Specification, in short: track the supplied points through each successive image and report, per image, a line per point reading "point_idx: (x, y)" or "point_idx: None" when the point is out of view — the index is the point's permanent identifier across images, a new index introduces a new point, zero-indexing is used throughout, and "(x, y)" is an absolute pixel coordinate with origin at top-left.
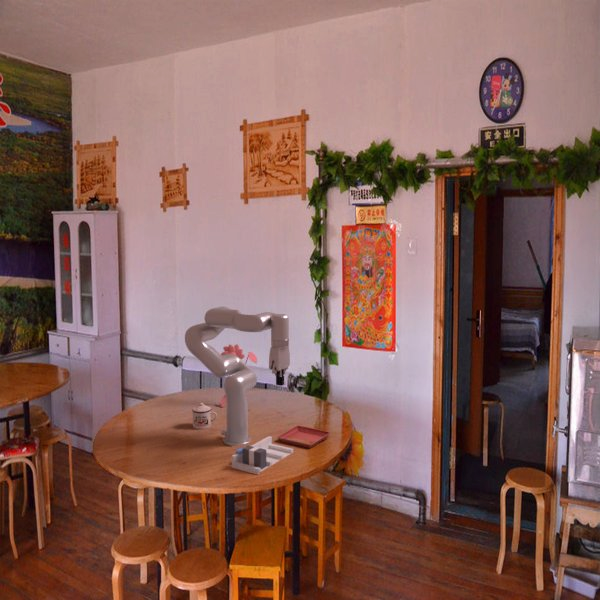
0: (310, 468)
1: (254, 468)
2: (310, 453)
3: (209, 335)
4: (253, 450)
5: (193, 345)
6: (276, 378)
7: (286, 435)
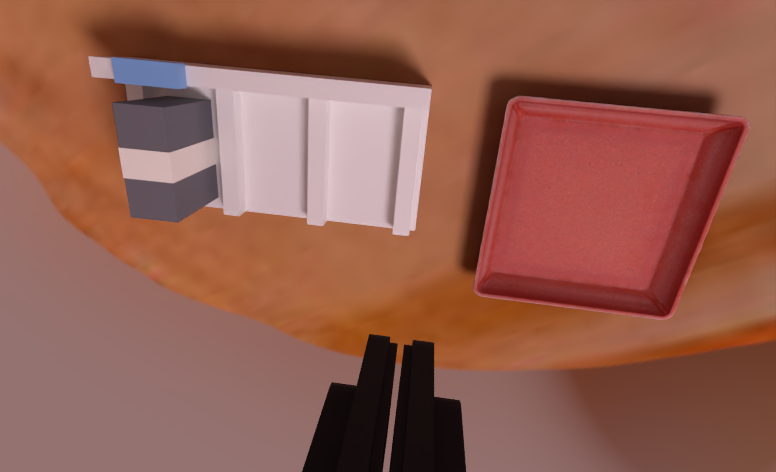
0: (307, 338)
1: None
2: (440, 290)
3: None
4: (129, 171)
5: None
6: (348, 426)
7: (592, 112)
